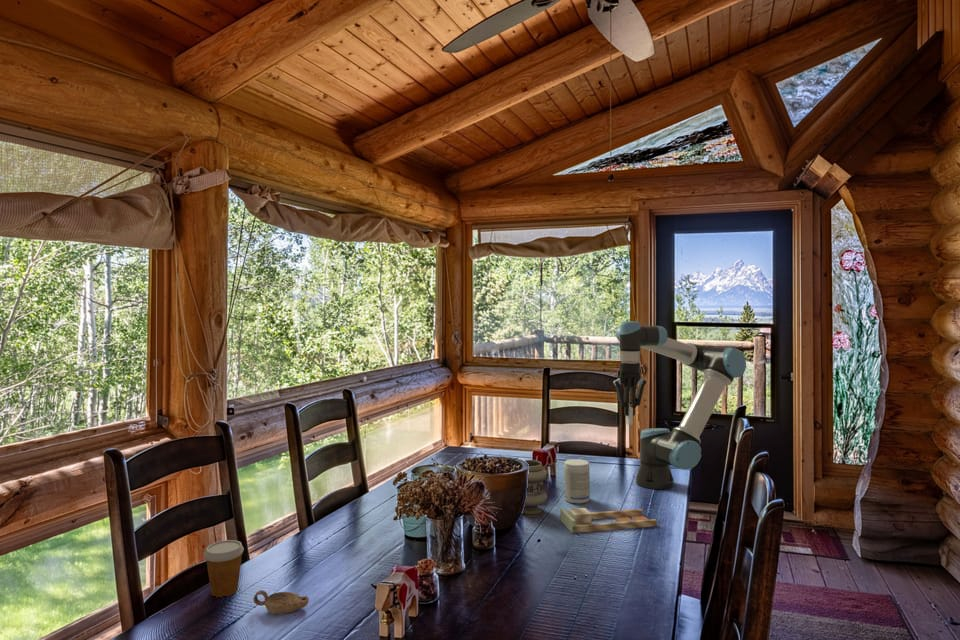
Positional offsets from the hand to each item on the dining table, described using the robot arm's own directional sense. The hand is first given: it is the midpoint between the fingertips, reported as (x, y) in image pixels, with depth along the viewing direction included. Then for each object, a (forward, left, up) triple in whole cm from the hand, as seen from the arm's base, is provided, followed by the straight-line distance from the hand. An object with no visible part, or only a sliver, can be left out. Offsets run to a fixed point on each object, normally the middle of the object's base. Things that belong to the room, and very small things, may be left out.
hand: (629, 424), depth 228 cm
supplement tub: (+19, -5, -30) cm, 36 cm away
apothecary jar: (+40, +4, -30) cm, 50 cm away
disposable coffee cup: (+135, +46, -30) cm, 146 cm away
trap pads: (+8, +20, -29) cm, 36 cm away
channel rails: (+17, +20, -29) cm, 39 cm away
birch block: (+27, +20, -30) cm, 45 cm away
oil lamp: (+119, +59, -30) cm, 136 cm away
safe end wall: (+32, +20, -29) cm, 48 cm away
